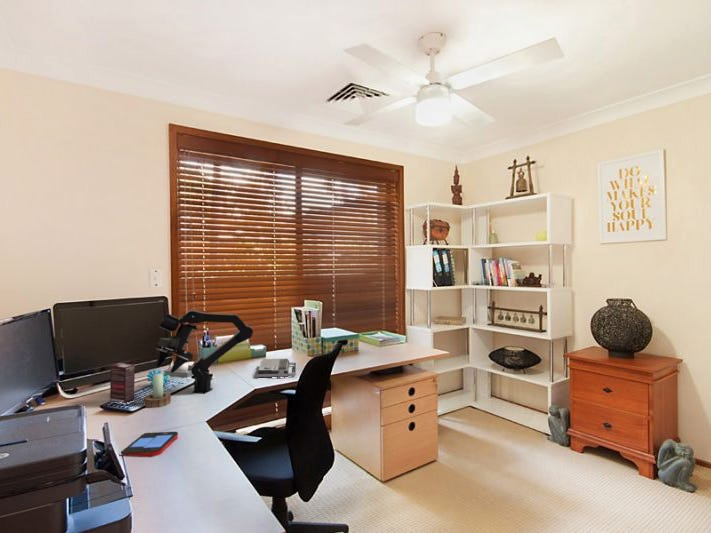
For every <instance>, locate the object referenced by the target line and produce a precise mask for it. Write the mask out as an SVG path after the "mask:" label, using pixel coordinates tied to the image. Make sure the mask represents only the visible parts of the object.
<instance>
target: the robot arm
mask: <svg viewBox="0 0 711 533" xmlns="http://www.w3.org/2000/svg"><path fill="white" fill-rule="evenodd" d="M208 322H209V323H230V324H233V325H234V326H235V327H236V328H237V331H236V332H235V333H234V334H233V335H232V336H231V337H230V338H229V339H227V340H226V341H224V343H223V344H221V345H220V346H219V347H217V348H216V349H214V350H213V351H212V352H211V353H209V354H208V355H206V356H204V357H203V355H202V354H201V355H200V356H199V357H198V358H197V359H195V360H194V361H193V363H192V364H191V365H192V369H191V372H192V374H193V376H194V380H193V390H192V393H196V394H207V393H208V392H211V391H212V390H213V388H212V386H211V383H212V381H211V380H212V379H211V378H212V377H211V376H210V369H209V368H210V367H211V366H212V365H213V363H215V362H216V361H217V360H218V359H220V358H221V357H223V356H224V355H226V353H228V352H229V351H230V350H232V349H233V348H234V347H236V346H237V345H238V344H241V343H242V342H246V341H247V340H249V339H250V338H252V337H253V335H254V331H253V328H252V327H251V326H250V325H249V324H246V323H245V322H244V321H243V320H242V319H241V318H240V317H239V315H238V314H236V313H215V312H214V313H212V312H210V313H209V312H205V311H200V310H196V309H189V310H188V311H186V313H185V314H184V315H182V316H180V317H176V316H174V315H172V314H170V313H166V315H165V317H164V319H163V320H162V322H161V323H160V325H159V328H160V329H163V330H165V331H168V332H170V333H172V332H175V334H174V335H171V337H160V339H159V341H158V342H156V344H155V345H154V348H155V351H156V353H157V361H156V365H155V366H156V368H160V367H161V366H162V364H163V363H164V361H165V360H166V359H167V357H168V356H169V355H170V353H172V354H175V361H174V363H173V365H172V367H171V368H172V369H171V373H173V372H174V371H176V370H177V369H178V368H179V367H180V366H182V365H183V364H184V363H187V362H189V361H192V360H193V358H194V353H193V352H190V351H188V350H185V349H184V347H185V346H186V344H189V341H188V340H189V338H190V336H191V333H192V332H193V331H195V332H197V331H198V328H197V324H201V323H208Z"/></svg>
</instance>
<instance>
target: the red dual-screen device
mask: <svg viewBox="0 0 711 533" xmlns="http://www.w3.org/2000/svg"><path fill="white" fill-rule="evenodd" d="M178 437H179V433H178V431H161V432H160V431H159V432H157V431H156V432H144V433H143V434H141V435H140V436H138V438H136V439H135V440H134V441H132V442H131V443H130V444H129V445H128V446H126V447H125V448H124V449H122V450H121V451H120V452H121V453H122V454H123V456H125V457H126V456H127V457H128V456H129V457H131V456H132V457H156V456H160V455H161V454H163V452H165V451H166V450H167V449H168V448H169V447H170V446H171V445H172V444H173V443H174V442H175V441H176V440H178ZM123 456H122V457H123Z"/></svg>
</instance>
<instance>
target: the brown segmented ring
mask: <svg viewBox="0 0 711 533" xmlns="http://www.w3.org/2000/svg"><path fill="white" fill-rule="evenodd" d="M171 398H172V395H171V393H170V392H164V391H163V398H158V399H153V393H149V394H147V395H145V397H144V399H143V400H144V403H143V404H145V408H150V409H151V408H152V409H153V408H162V407H164V406H167V405H169V404H170V403H171V401H172V399H171Z"/></svg>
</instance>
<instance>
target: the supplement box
mask: <svg viewBox="0 0 711 533" xmlns="http://www.w3.org/2000/svg"><path fill="white" fill-rule="evenodd" d="M135 366H136V365H135V364H131V363H130V364H129V363H123V362H119V363H118V362H117V363H115V364H111V365H110V370H109V371H110V374H109V376H110V379H109V380H110V381H109V382H110V383H109V384H110V386H109V387H110V390H109V391H110V394H109V398H110V399H109V403H110V402H122V403H127V402H130V401H133V400H134V401H135V381H136V380H135V378H136V375H135V372H136V371H135V370H136V368H135Z"/></svg>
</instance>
